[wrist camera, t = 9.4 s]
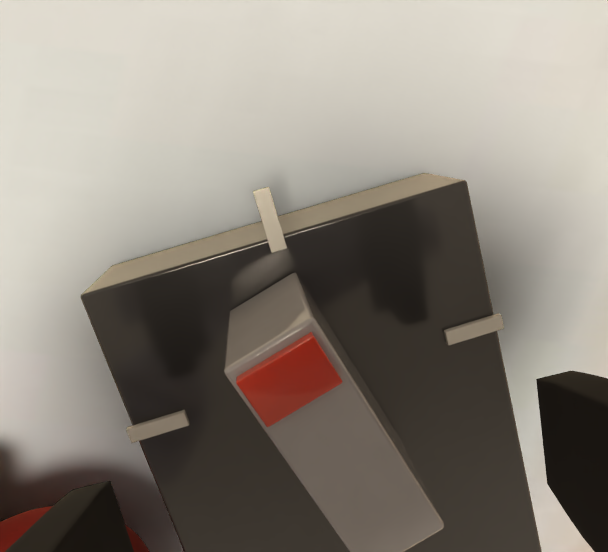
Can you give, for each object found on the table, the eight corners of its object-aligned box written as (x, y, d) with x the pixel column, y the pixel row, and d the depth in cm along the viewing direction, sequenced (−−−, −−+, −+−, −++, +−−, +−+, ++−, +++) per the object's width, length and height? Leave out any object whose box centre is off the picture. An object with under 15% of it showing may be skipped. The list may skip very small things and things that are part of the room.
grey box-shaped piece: (399, 436, 14) (451, 537, 10) (337, 473, 14) (368, 586, 10) (295, 270, 13) (315, 321, 9) (227, 311, 13) (220, 378, 9)
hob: (501, 499, 18) (552, 571, 15) (230, 585, 18) (227, 677, 15) (420, 131, 15) (464, 129, 12) (92, 227, 15) (52, 250, 12)
